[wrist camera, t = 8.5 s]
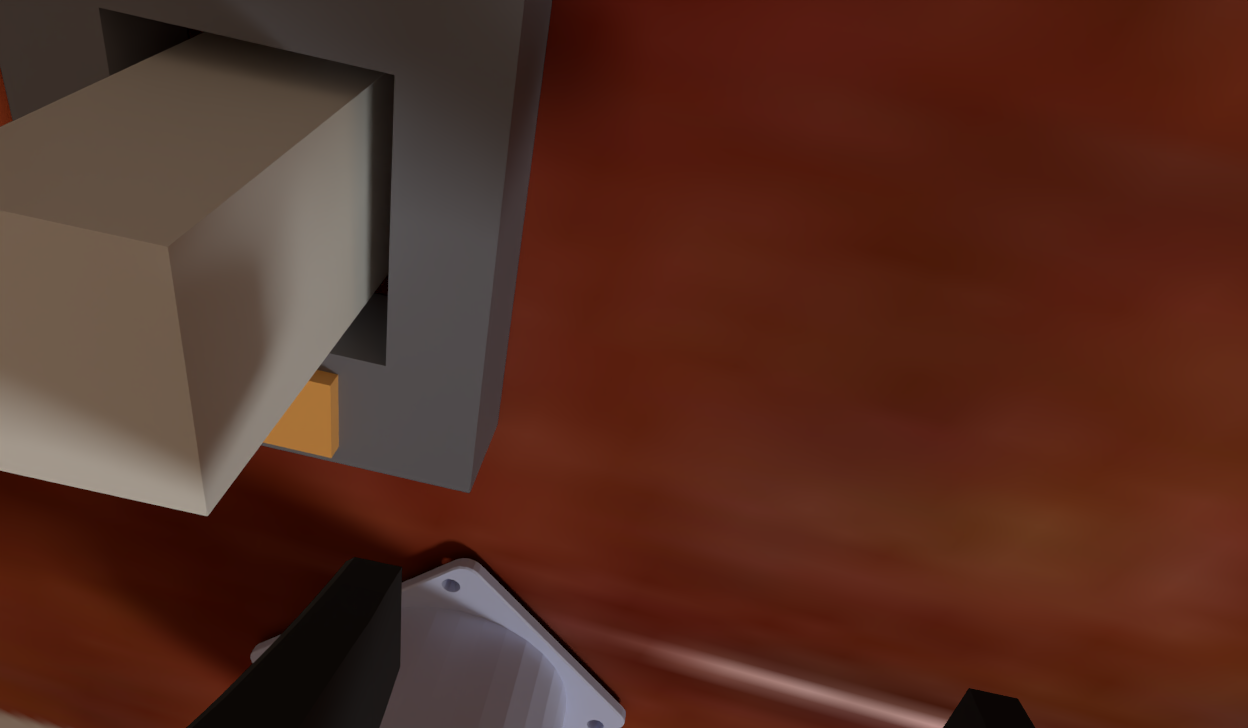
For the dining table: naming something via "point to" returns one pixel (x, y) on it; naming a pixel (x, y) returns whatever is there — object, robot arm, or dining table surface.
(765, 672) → the dining table surface
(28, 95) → the power strip
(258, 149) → the plug
